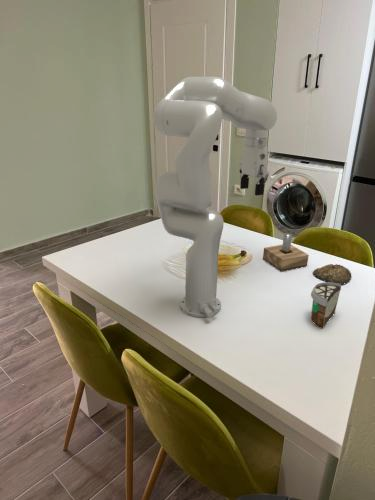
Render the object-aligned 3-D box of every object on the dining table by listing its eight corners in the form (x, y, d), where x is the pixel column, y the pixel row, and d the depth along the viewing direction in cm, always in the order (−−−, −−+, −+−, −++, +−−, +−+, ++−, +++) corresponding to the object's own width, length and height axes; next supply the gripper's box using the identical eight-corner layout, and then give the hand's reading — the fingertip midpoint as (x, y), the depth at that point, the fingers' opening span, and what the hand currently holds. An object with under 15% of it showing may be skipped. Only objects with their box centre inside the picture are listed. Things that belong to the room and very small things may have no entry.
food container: (316, 305, 117) (321, 277, 113) (336, 312, 114) (342, 283, 110) (300, 322, 108) (305, 292, 104) (320, 330, 105) (326, 300, 101)
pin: (290, 261, 144) (293, 235, 140) (283, 262, 143) (287, 236, 139) (285, 258, 147) (288, 232, 142) (279, 259, 146) (282, 233, 141)
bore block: (306, 266, 143) (308, 254, 141) (281, 271, 138) (282, 259, 136) (287, 254, 153) (288, 243, 151) (262, 259, 148) (263, 247, 146)
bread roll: (339, 288, 128) (341, 275, 126) (308, 275, 137) (310, 263, 135) (358, 278, 135) (360, 265, 133) (327, 266, 144) (329, 254, 142)
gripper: (279, 145, 121) (274, 196, 128) (251, 139, 136) (247, 185, 143) (260, 146, 119) (255, 198, 125) (233, 140, 133) (230, 187, 140)
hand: (251, 191), depth 134 cm, fingers open, 9 cm apart
